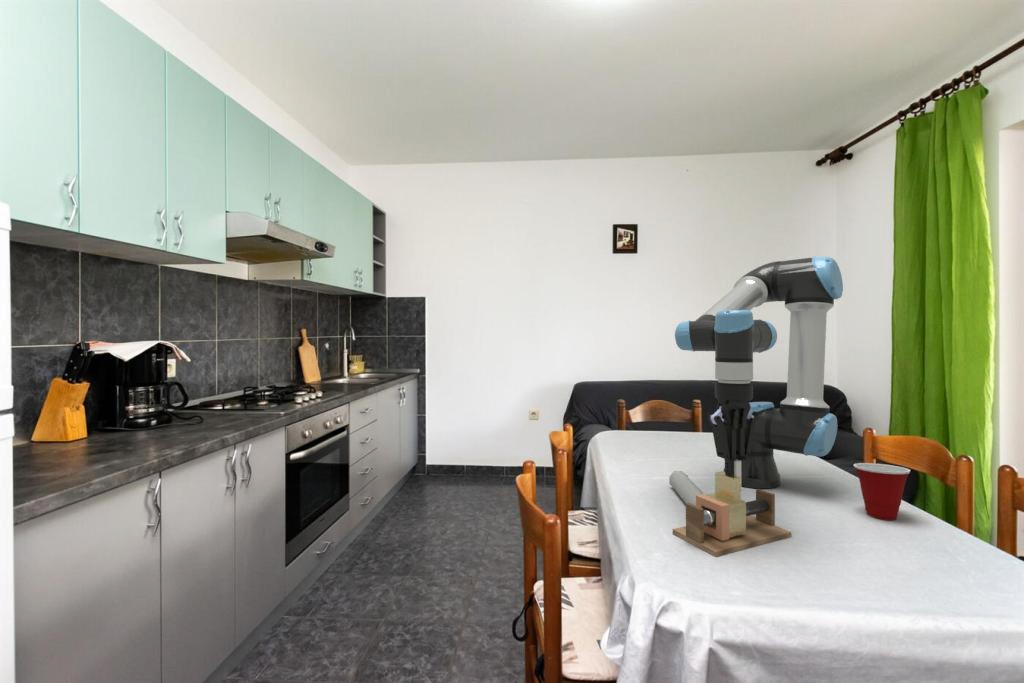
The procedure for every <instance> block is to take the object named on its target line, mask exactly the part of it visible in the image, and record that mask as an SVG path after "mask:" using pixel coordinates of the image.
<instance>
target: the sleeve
mask: <svg viewBox="0 0 1024 683" xmlns="http://www.w3.org/2000/svg"><path fill="white" fill-rule="evenodd" d="M741 491H742V486H741V477H738V476H735V475H732V476H730V475H727V474H725V472H723V471H722V470H721V471H715V472H714V492H713V493H712V492H711V493H708V494H705V495H706V496H709V497H711V498H714V499H716V500H719V501H721V502H724V503H726V504H729V538H730V537H734V536H738V535H742V534H746V502H747V501H745V500H743V499H742V497H741V496H742V494H741ZM708 510H712V509H709V508H708ZM714 525H716V523H715V524H714Z"/></svg>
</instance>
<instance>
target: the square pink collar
mask: <svg viewBox="0 0 1024 683" xmlns="http://www.w3.org/2000/svg"><path fill="white" fill-rule="evenodd" d="M706 495H707V494H705V493H704V494H700V495H696V506H698V507H700V508H702V509H704V510H708V508H709V509H712V510H714V511H716V525H714V524H712V525H708V526H707V525H706V526H704V532H705V533H707V534H709V535H711V536H713V537H715V538H717V539H719V540H721V541H724V540H728V539H729V504H726V503H724V502H721V501H719V500H716V499H714V498H711V497H709V496H706Z"/></svg>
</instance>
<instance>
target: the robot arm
mask: <svg viewBox="0 0 1024 683" xmlns="http://www.w3.org/2000/svg"><path fill="white" fill-rule="evenodd" d="M838 264H839V263H838V262H837V261H836V260H835V259H834V258H833V257H831V256H819V257H818V256H817V257H816V256H813V257H803V258H797V259H790V260H781V261H778V260H777V261H772V262H768V263H766V264H763V265H761V266H758V267H756V268H754V269H751V271H748V272H747V273H746V274H745V273H744V275H743V276H741V277H740V278H739V279H738V280H736V282H735V283H734V285H733V288H732V289H731V290H730V291H729V292H727V294H725V295H724V296H723V297H722V298H720V299H719V300H718V301H717V302H716V303H714V305H712V306H711V307H710V308H708V309H707V310H706V311H705V312H703V314H702V315H700V316H699V317H698V318H697V319H695V320H693V321H692V320H687V321H681V322H679V323H678V324H677V325H676V328H675V331H674V339H675V343H676V346H677V347H678V348H679V349H680V350H682V351H690V352H694V353H695V352H715V353H714V354H715V355H714V356H715V357H714V361H715V362H714V368H715V370H714V372H715V373H714V374H715V375H714V377H715V378H714V379H715V380H717V381H716V382H715V383H714V397H715V399H716V400H717V406H716V411H715V412H714V413H713V414H710V413H709V414H707V420H708V422H709V423H710V426H711V431H712V435H713V441H714V446H715V452H716V456H717V457H718V458H721V459H724V468H723V469H722V470H723V472H725V474H727V475H730V476H732V475H735V476H738V477H741V487H744V488H745V487H746V488H751V489H773V488H777V487H779V486H780V485H781V475H780V473H779V470H778V466H777V463H776V461H775V457H774V450H776V451H781V452H788V453H795V454H800V455H804V456H813V457H818V458H819V457H820V458H821V457H824V456H826V455H828V454H829V453H830V452H831V451H832V448H833V446H834V444H835V440H836V437H837V433H838V419H837V416H836V415H835V414H833V413H830V408H831V407H830V405H828V404H827V403H826V402H825V401H824V387H825V386H824V385H825V384H824V383H825V363H826V359H825V358H826V340H827V339H826V338H827V336H826V335H827V318H828V317H827V314H828V312H829V311H830V310H832V308H834V305H835V304H834V303H835V300H838V299H841V298H842V296H843V291H844V285H843V276H842V273H841V270H840V267H839V265H838ZM771 302H784V308H785V309H787V310H788V311H789V313H790V317H789V320H790V321H789V336H788V337H789V338H788V340H789V341H788V358H787V359H788V361H787V362H788V364H787V365H788V366H787V382H786V384H787V385H786V397H785V398H784V399H783V400H781V401H780V404H779V408H775V405H774V402H771V401H752V400H753V399H754V384H753V383H752V382H751V381H753V380H754V353H759V354H760V353H763V352H767V351H769V350H771V349H772V348H773V347H774V346H775V344H776V343H777V340H778V332H777V330H776V327H775V326H774V325H773V324H772V323H771V322H769V321H766V320H763V319H754V316H753V312H752V310H753V309H754V308H758V307H760V306H762V305H764V304H765V303H771ZM750 401H752V402H750Z"/></svg>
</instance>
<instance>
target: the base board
mask: <svg viewBox="0 0 1024 683" xmlns="http://www.w3.org/2000/svg"><path fill="white" fill-rule="evenodd" d="M755 489H756V490H755V500H759V499H765V500H766V501H767V502H768V504H769V510H768V511H767V512H763V513H758V514H755V516H753V515H750V516H746V534H742V535H738V536H734V537H730V538H729V539H728V540H724V541H721V540H719V539H717V538H715V537H713V536H711V535H709V534H707V533H705V532H704V509H702V508H700V507H698V506H695V505H693V504H691V503H685V526H681V527H677V528H676V527H675V528H673V529H672V534H673V535H674V536H676V537H678V538H680V539H682V540H684V541H685V542H687V543H689V544H691V545H693V546H695V547H697V548H698V549H701V550H702V551H704V552H706V553H708V554H709V555H711V556H713V557H715V558H717V557H720V556H723V555H728V554H732V553H734V552H739V551H743V550H746V549H750V548H754V547H757V546H762V545H765V544H769V543H772V542H776V541H780V540H783V539H787V538H791V537H792V531H790V530H787V529H785V528H783V527H780V526H777V525H776V524H775V523H776V522H775V521H776V520H775V519H776V517H775V516H776V515H775V514H776V513H775V512H776V506H775V505H776V502H775V501H776V500H775V499H776V496H775V495H776V494H775V493H773V492H770V491H766V490H763V489H762V488H755Z"/></svg>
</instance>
